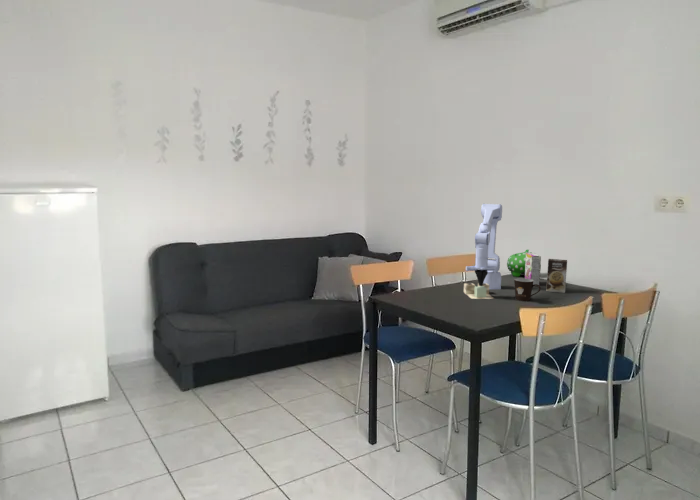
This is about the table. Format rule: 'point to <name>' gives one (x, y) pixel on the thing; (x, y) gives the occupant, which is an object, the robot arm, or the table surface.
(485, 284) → the dotted cube
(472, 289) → the dotted cube
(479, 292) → the plain cube
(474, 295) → the birch board
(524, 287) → the coffee mug
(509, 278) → the table surface
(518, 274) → the piggy bank
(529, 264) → the candy bar box
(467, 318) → the table surface
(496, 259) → the robot arm
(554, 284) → the coffee box
